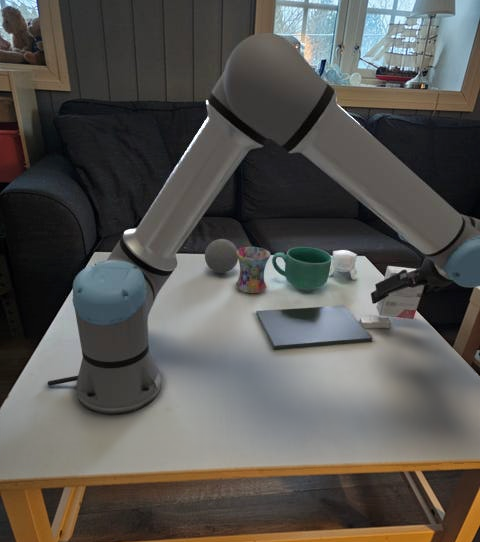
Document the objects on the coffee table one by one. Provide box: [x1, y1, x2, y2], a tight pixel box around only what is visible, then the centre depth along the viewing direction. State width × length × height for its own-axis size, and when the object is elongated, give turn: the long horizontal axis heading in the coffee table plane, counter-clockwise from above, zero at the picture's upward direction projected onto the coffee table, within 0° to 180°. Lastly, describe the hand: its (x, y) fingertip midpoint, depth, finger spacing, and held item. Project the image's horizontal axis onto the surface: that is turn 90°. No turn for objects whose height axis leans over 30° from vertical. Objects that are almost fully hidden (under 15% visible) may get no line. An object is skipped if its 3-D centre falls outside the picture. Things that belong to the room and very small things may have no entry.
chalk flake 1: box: [358, 317, 372, 329], centre depth 107 cm, size 2×2×2 cm
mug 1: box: [235, 246, 271, 294], centre depth 121 cm, size 12×9×11 cm
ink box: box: [376, 265, 425, 320], centre depth 106 cm, size 9×5×12 cm, turn 85°
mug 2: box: [271, 246, 332, 291], centre depth 124 cm, size 17×13×10 cm
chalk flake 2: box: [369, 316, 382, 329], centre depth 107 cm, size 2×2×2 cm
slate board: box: [255, 305, 374, 350], centre depth 105 cm, size 24×16×1 cm, turn 103°
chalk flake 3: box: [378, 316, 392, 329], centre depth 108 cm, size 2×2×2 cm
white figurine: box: [328, 249, 358, 281], centre depth 132 cm, size 9×8×15 cm
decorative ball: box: [204, 238, 239, 274], centre depth 128 cm, size 10×10×10 cm
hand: (390, 297), depth 110 cm, fingers closed on ink box, 9 cm apart
